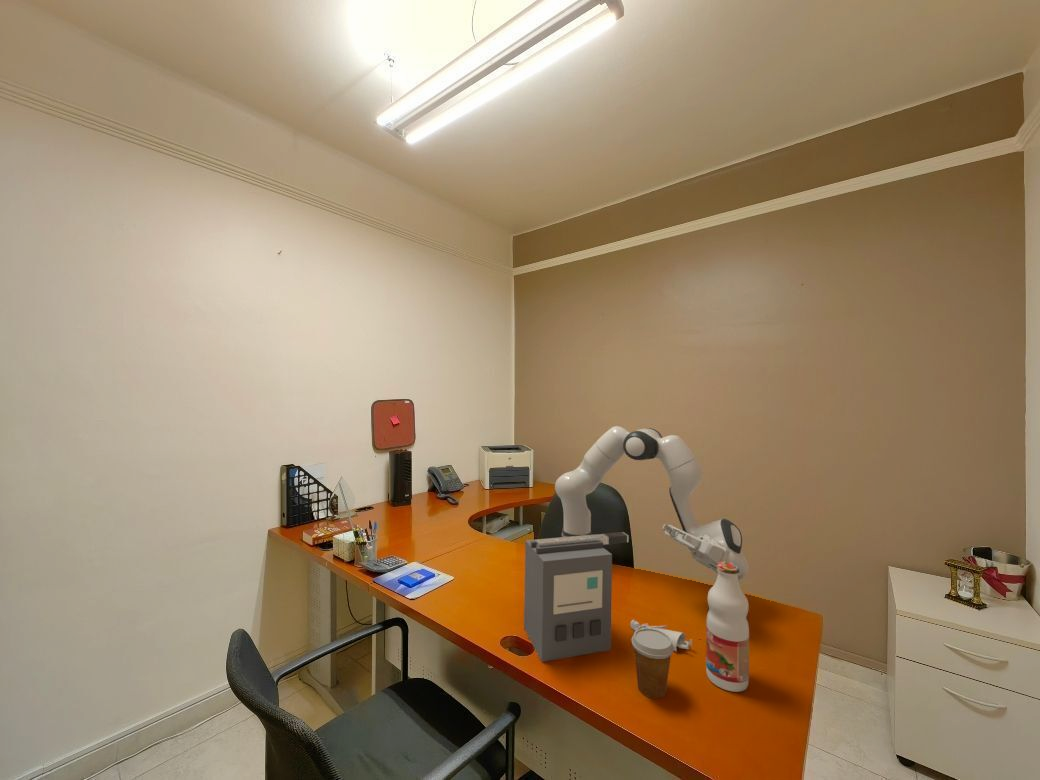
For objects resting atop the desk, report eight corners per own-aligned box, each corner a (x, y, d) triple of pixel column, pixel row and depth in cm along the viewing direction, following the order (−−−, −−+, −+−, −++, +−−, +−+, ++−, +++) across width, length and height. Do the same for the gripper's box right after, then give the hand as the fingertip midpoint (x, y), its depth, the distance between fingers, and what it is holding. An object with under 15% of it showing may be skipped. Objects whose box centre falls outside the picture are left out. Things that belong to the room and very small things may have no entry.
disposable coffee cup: (671, 679, 101) (671, 630, 101) (674, 708, 91) (675, 653, 92) (631, 672, 103) (631, 624, 103) (630, 698, 94) (631, 646, 94)
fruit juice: (757, 693, 96) (758, 573, 97) (717, 693, 96) (718, 573, 97) (735, 667, 106) (736, 558, 106) (699, 666, 106) (700, 557, 106)
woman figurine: (681, 646, 107) (620, 623, 120) (681, 664, 107) (621, 639, 119) (698, 628, 115) (639, 609, 128) (699, 645, 115) (640, 623, 128)
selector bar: (535, 546, 116) (535, 539, 116) (623, 538, 124) (623, 531, 124) (538, 550, 113) (539, 543, 113) (628, 542, 121) (628, 535, 121)
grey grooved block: (523, 628, 122) (525, 535, 122) (585, 619, 127) (586, 530, 128) (543, 664, 106) (544, 557, 106) (612, 652, 111) (613, 550, 112)
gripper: (687, 531, 141) (658, 513, 138) (734, 552, 122) (701, 532, 118) (679, 547, 140) (649, 530, 137) (725, 572, 121) (692, 552, 117)
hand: (674, 531), depth 127 cm, fingers open, 8 cm apart
